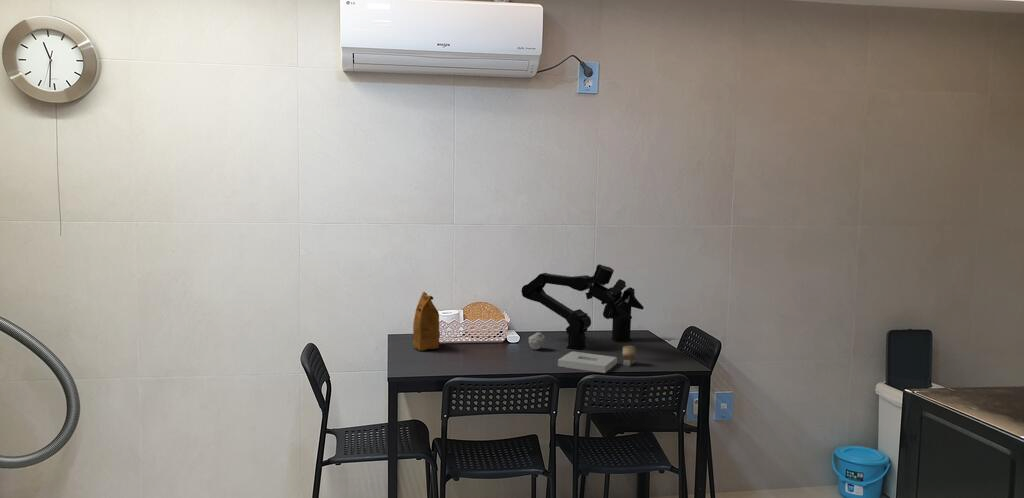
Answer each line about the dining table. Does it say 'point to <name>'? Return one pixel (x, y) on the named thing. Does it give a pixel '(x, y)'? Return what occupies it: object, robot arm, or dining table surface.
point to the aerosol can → (622, 326)
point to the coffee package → (426, 324)
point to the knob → (628, 355)
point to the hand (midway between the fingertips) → (637, 313)
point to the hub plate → (587, 362)
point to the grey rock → (536, 340)
